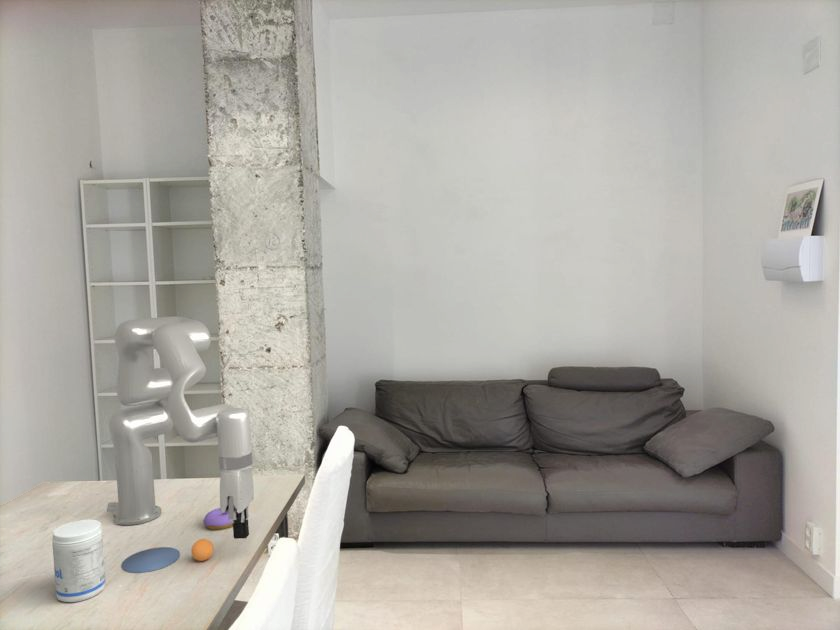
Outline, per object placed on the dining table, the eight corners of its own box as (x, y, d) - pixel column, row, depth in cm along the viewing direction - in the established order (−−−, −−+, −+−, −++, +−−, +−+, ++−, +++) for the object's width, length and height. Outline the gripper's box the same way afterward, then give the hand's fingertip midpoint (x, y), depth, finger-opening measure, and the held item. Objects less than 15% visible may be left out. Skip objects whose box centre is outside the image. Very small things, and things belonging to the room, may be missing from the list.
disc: (110, 572, 145) (110, 571, 145) (139, 547, 158) (139, 547, 158) (163, 572, 144) (163, 572, 144) (189, 547, 157) (189, 547, 157)
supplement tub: (49, 595, 136) (44, 529, 135) (95, 577, 143) (90, 515, 142) (67, 609, 130) (61, 540, 129) (113, 590, 137) (109, 525, 136)
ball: (188, 564, 148) (187, 544, 147) (197, 555, 153) (196, 535, 152) (208, 564, 147) (207, 544, 147) (217, 555, 152) (216, 535, 152)
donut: (230, 531, 166) (225, 514, 166) (199, 537, 168) (195, 519, 168) (247, 516, 175) (243, 500, 175) (218, 522, 177) (214, 505, 177)
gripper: (232, 453, 155) (237, 525, 156) (207, 471, 140) (213, 551, 141) (261, 452, 155) (267, 524, 156) (239, 470, 140) (245, 550, 141)
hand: (241, 536), depth 148 cm, fingers closed
